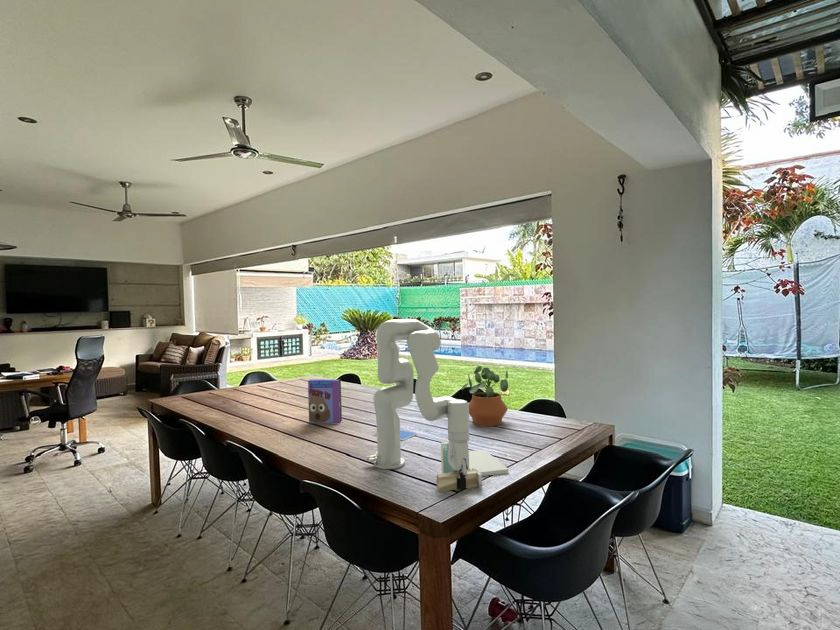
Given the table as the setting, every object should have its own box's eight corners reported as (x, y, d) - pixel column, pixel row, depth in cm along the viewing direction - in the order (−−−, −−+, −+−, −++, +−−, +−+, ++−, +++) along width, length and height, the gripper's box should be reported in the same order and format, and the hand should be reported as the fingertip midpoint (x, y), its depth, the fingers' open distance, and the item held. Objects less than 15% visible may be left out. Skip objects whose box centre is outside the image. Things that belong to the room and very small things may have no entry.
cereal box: (309, 423, 249) (307, 380, 249) (312, 421, 254) (310, 379, 253) (339, 423, 247) (338, 380, 247) (341, 421, 252) (340, 379, 251)
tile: (443, 475, 169) (442, 444, 168) (441, 473, 171) (440, 442, 171) (465, 473, 171) (465, 442, 171) (463, 471, 173) (463, 440, 173)
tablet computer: (372, 436, 224) (372, 433, 224) (388, 430, 234) (388, 427, 234) (402, 442, 213) (402, 439, 213) (418, 435, 223) (418, 432, 223)
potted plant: (516, 421, 244) (515, 366, 243) (489, 433, 222) (487, 373, 221) (480, 415, 258) (479, 363, 258) (452, 426, 237) (450, 369, 236)
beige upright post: (482, 488, 156) (481, 474, 156) (440, 494, 153) (440, 479, 152) (474, 481, 163) (474, 467, 163) (435, 486, 159) (435, 472, 159)
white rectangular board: (473, 477, 167) (473, 473, 167) (453, 456, 190) (453, 452, 190) (508, 472, 170) (508, 469, 170) (484, 452, 193) (484, 449, 193)
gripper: (441, 430, 164) (442, 479, 165) (455, 443, 149) (457, 497, 149) (461, 428, 166) (462, 477, 167) (477, 441, 150) (478, 494, 151)
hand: (459, 486), depth 158 cm, fingers closed on beige upright post, 3 cm apart
